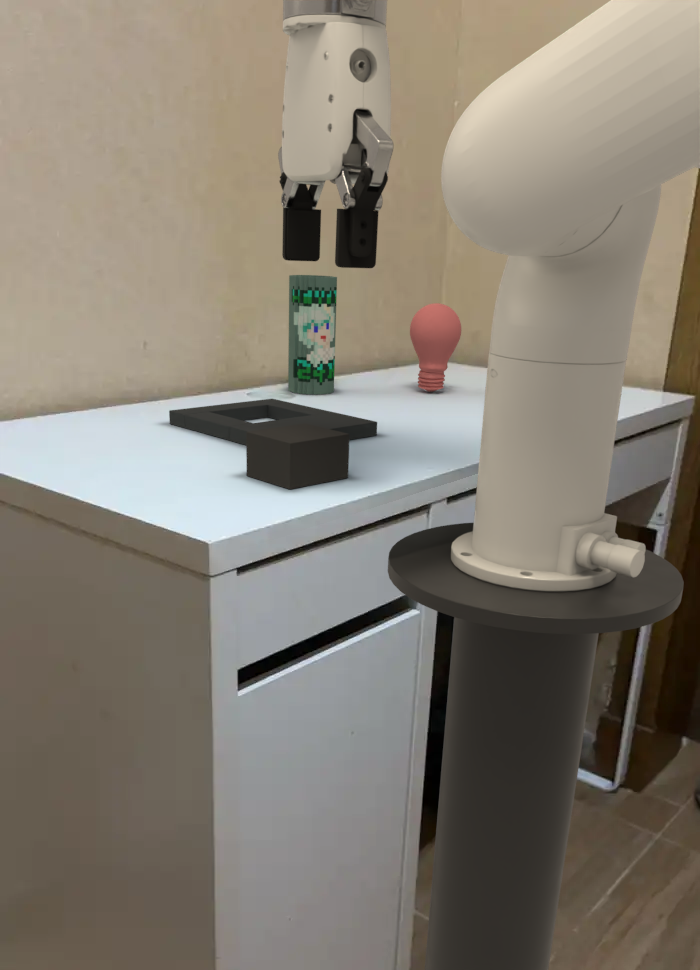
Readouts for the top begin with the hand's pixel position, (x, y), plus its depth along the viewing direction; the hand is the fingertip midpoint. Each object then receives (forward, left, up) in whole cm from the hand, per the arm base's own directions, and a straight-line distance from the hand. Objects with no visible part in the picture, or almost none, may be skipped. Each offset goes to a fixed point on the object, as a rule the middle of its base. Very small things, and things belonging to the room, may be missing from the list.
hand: (326, 263), depth 74 cm
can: (+40, -35, -18) cm, 56 cm away
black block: (+4, -1, -18) cm, 19 cm away
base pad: (+22, -13, -18) cm, 31 cm away
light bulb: (+30, -49, -18) cm, 60 cm away
